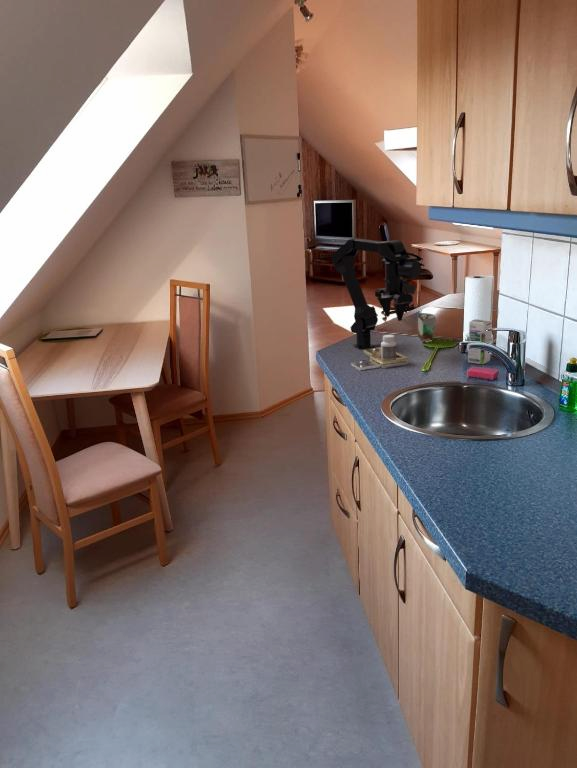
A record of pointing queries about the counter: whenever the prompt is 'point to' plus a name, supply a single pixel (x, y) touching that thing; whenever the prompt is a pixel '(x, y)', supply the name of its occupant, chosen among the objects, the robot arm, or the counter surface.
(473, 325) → the syrup box
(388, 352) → the pill bottle
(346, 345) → the counter surface
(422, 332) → the food container
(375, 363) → the beige flat piece
